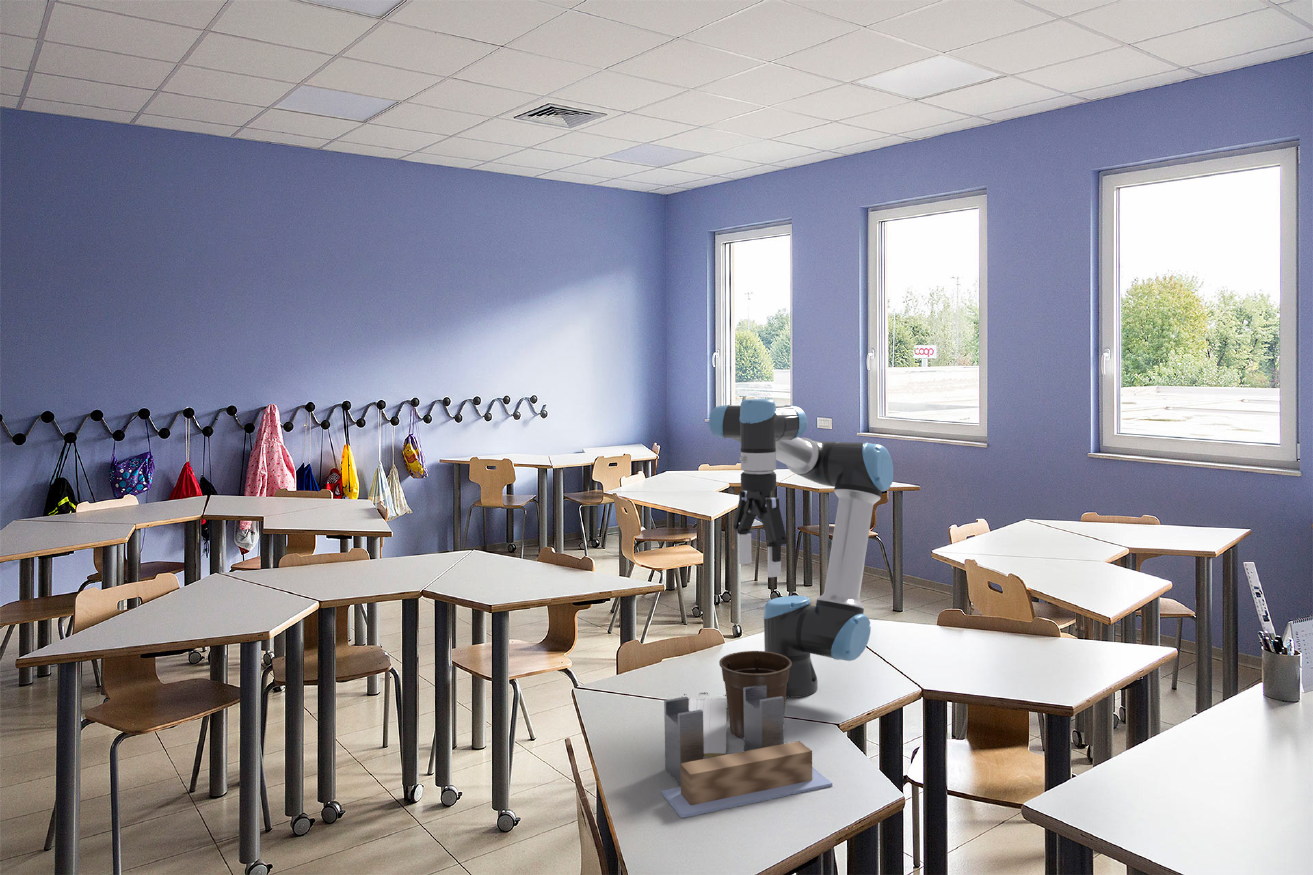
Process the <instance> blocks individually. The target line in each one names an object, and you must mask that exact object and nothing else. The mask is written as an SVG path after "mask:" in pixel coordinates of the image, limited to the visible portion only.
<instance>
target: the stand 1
mask: <svg viewBox="0 0 1313 875" xmlns="http://www.w3.org/2000/svg"><path fill="white" fill-rule="evenodd" d="M689 698H690V697H688V696H681V697H678V698H677V697H676V698H669V699H664V701H663V706H664V708H663V709H664V710H663V711H664V712H663V714H664V715H663V716H664V749H665V750H664V757H665V758H664V759H665V760H664V762H665V763H664V764H665V765H664V766H665V767H664V768H665V770H666V771H667V773H669V775H670V776H671V778H673V779H674V781H675V782H676V783H677V784H678V785H679V787H681V772H680V763H685V762H691V761H696V760H701V759H705V757H704V737H703V711H702V710H695V711H689Z"/></svg>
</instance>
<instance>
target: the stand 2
mask: <svg viewBox="0 0 1313 875" xmlns="http://www.w3.org/2000/svg"><path fill="white" fill-rule="evenodd" d="M743 698H744V738H743V752H744V751H749V750H754V749H760V748H765V747H770V746H775V745H781V744H785V715H784V698H783V697H782V696H779V697H773V698H767V686H766V685H765V684H762V685H756V686H750V687H743Z"/></svg>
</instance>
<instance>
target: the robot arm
mask: <svg viewBox="0 0 1313 875" xmlns="http://www.w3.org/2000/svg"><path fill="white" fill-rule="evenodd" d="M708 427H709V431H710V432H711V433H712V435H713V437H716V438H720V439H721V438H722V439H724V440H725V439H726V440H727V439H733V440H734V441H737V442H739V443H740V457H738V458H739V461H740V470H741V471H743V472H741V474H740V488H741V490H739V493H738V494H739V496H738V498H739V500H738V503H737V509H736V513H735V516H734V517H735V518H734V522H733V529H734V530H735V531H736V532H737V534H738V563H739V565H745V564H746V565H747V564H752V562H753V560H752V558H753V557H752V556H753V555H752V532H753V531H752V529H751V528H752V526H753V523H754V521H755V519H756V517H757V519H759V520H760V521H761V523H762V526H763V530H764V532H765V535H766V537H767V541H768V543H767V544H766V546H767V577H768V578H774V577H775V578H778V577H782V546H783V545H787V544H788V539H787V535H786V534H787V533H786V529H785V527H784V526H785V525H784V521H783V517H782V513H781V508H780V498H779V497H778V496H777V497H772V494H771V492H773V491H775V490H776V488H777V474H776V472H775V470H776V471H777V461H778V462H780V463H781V464H783V465H786V467H787V469H788V470H789V471H790V472H792V473H794V474H795V475H797V476H800V477H802V478H804V479H806V480H808V481H811V482H813V483H816V484H819V485H822V486H827V487H834V489H833V493H834V494H835V496H836V497H837V498H838V502H837V509H836V514H835V515H836V516H835V521H834V528H833V533H832V534H833V535H832V541H831V546H830V553H829V560H828V566H827V572H826V579H825V585H824V592H823V593H822V594H821V595H820V596H818V597H817V598H816V603H815V605H812V604H811V603H812V601H811V599H810V597H808V596H804V595H787V596H780V597H775V598H772V599H770V600H768V601H767V602H766V603H765V604H764V611H763V617H762V618H763V627H764V630H763V634H764V636H763V639H764V651H766V652H773V653H777V654H781V655H783V656H786V657H787V658H789V659H790V660H791V662H792V665H791V667H790V669H789V679H788V682H787V688H786V698H799V697H802V698H803V697H807V696H809V695H812V694H815V692H817V691H818V687H819V686H818V685H819V684H818V681H819V680H818V677H817V675H816V674H817V673H816V670H815V667H814V665H813V661H812V658H811V654H812V655H816V656H821V657H824V658H825V657H826V658H830V659H833V660H837V661H839V660H840V661H847V662H852V661H855V660H857V659H858V658H859V657H861V655H862V654H863V653H864V652H865V650H866V648H867V645H868V643H869V640H870V636H871V628H872V627H871V621H870V618H869V617H868V616H867V615H866V614H865V613H864V612H865V611H864V610H865V606H864V605H863V604H862V602H861V600H860V596H861V595H860V594H861V588H862V582H863V576H864V569H865V562H866V555H867V548H868V542H869V536H870V528H871V523H872V516H873V508H874V505H875V504H876V503H877V502H879V501H880V500H881V498H882V492H885V491H888V490H890V488H891V485H892V484H893V481H894V480H893V479H894V466H893V465H894V464H893V461H892V457H891V454H890V453H889V450H888V449H887V448H886V447H885V446H883V445H881V444H877V443H870V442H841V441H821V440H820V441H819V440H813V439H811V438H808V437H802V436H803V435H804V434H805V432H806V430H807V427H808V418H807V415H806V413H805V411H804V410H803V409H802V408H800V407H799V406H796V405H787V404H786V405H784V406H783V405H782V406H781V405H780V406H779V405H778V406H777V405H776V402H775V400H774V399H772V398H753V399H749V398H748V399H747V398H746V399H743V400H742V401H741V403H740V405H731V404H727V405H717V406H715V407H714V408H713V409H712V410H711V411H710V414H709V419H708Z"/></svg>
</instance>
